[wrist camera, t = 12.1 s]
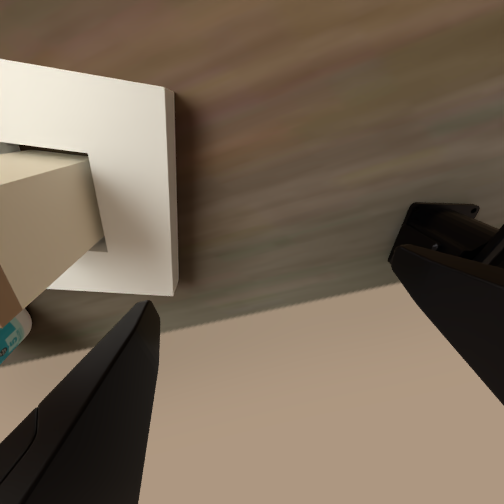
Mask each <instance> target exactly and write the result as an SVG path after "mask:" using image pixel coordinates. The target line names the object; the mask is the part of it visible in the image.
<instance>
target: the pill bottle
mask: <svg viewBox="0 0 504 504" xmlns="http://www.w3.org/2000/svg"><path fill="white" fill-rule="evenodd" d="M31 327H32V320H31V317H30V315H29V313H28V312H27V310H26V309H25V308H24V309H23V310H22V311H21V312H20V313H19V314H18V315H16V316H15V317H14V318H13V319H12V320H11V321H10V322H9V323H8V324H6V325H5V326H4V327H3V328H0V364H1V363H2V362H3V361H4V360H5V359H6V358H7V356H8V355H9V354H10V353H11V352H12V351H13V350H14V349H15V348H16V347H17V346H18V345H19V344H20V343H21V342H22V340H23V339H24V338H25V337H26V336H27V335H28V334H29V332H30V330H31Z"/></svg>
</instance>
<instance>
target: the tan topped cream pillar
mask: <svg viewBox="0 0 504 504" xmlns="http://www.w3.org/2000/svg"><path fill="white" fill-rule="evenodd" d="M103 237H104V231H103V226H102V221H101V216H100V211H99V206H98V201H97V196H96V191H95V187H94V182H93V177H92V172H91V167H90V162H89V157H88V156H81V155H73V154H65V153H56V152H48V151H40V150H25V151H18V152H12V153H5V154H0V328H3V327H4V326H5V325H6V324H8V323H9V322H10V321H11V320H12V319H13V318H14V317H15V316H16V315H18V314H19V313H20V312H21V311H22V310H23V309H24V308H25V307H26V306H27V305H29V304H30V303H31V302H32V301H33V300H34V299H35V298H36V297H37V296H39V295H40V294H41V293H42V292H43V291H44V290H45V289H46V288H47V287H49V286H50V285H51V284H52V283H53V282H54V281H55V280H56V279H57V278H59V277H60V276H61V275H62V274H63V273H64V272H65V271H66V270H67V269H68V268H70V267H71V266H72V265H73V264H74V263H75V262H76V261H77V260H78V259H80V258H81V257H82V256H83V255H84V254H85V253H86V252H87V251H88V250H90V249H91V248H92V247H93V246H94V245H95V244H96V243H97V242H98V241H100V240H101V239H102V238H103Z"/></svg>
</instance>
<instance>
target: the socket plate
mask: <svg viewBox="0 0 504 504" xmlns="http://www.w3.org/2000/svg"><path fill="white" fill-rule="evenodd" d="M19 144H21V145H28V146H36V147H44V148H51V149H59V150H66V151H74V152H82V153H88V157H89V162H90V167H91V172H92V177H93V182H94V187H95V191H96V196H97V201H98V206H99V211H100V216H101V221H102V226H103V231H104V236H105V237H103V238H102V239H101V240H100V241H98V242H97V243H96V244H95V245H94V246H93V247H92V248H91V249H90V250H88V251H87V252H86V253H85V254H84V255H83V256H82V257H81V258H80V259H78V260H77V261H76V262H75V263H74V264H73V265H72V266H71V267H70V268H68V269H67V270H66V271H65V272H64V273H63V274H62V275H61V276H60V277H59V278H57V279H56V280H55V281H54V282H53V283H52V284H51V285H50V286H49V287H47V288H46V289H60V290H77V291H94V292H110V293H127V294H144V295H160V296H174V293H175V290H176V287H177V284H178V281H179V263H178V224H177V184H176V145H175V105H174V91H172V90H169V89H167V88H165V87H160V86H154V85H148V84H142V83H137V82H131V81H125V80H119V79H113V78H108V77H102V76H96V75H90V74H84V73H79V72H73V71H67V70H61V69H55V68H50V67H44V66H38V65H32V64H26V63H21V62H15V61H9V60H3V59H0V154H5V153H12V152H18V151H21V150H20V147H19Z"/></svg>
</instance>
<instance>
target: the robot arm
mask: <svg viewBox="0 0 504 504" xmlns="http://www.w3.org/2000/svg"><path fill="white" fill-rule="evenodd" d="M416 207H417V209H416V210H415V208H416ZM478 211H479V206H477V205H474V204H453V203H422V202H416V203H413V204H412V205H411V206H410V207H409V210H408V212H407V215H406V217H405V219H404V222H403V224H402V227H401V229H400V231H399V234H398V236H397V239H396V241H395V243H394V246H393V248H392V251H391V253H390V255H389V258H388V262H389V263H390V264H391V267H392V270H393V272H394V273H395V274H396V276H397V277H398V279H399V280H400V281H401V283H402V284H403V286H404V287H405V288H406V290H407V291H408V293H409V294H410V296H411V297H412V298H413V300H414V301H415V302H416V304H417V305H418V306H419V307H420V309H421V310H422V311H423V312H424V313H425V314H426V316H427V317H428V318H429V319H430V320H431V321H432V323H433V324H434V325H435V326H436V327H437V328H438V330H439V331H440V332H441V333H442V334H443V335H444V337H445V338H446V339H447V340H448V341H449V342H450V344H451V345H452V346H453V347H454V348H455V349H456V351H457V352H458V353H459V354H460V355H461V356H462V357H463V359H464V360H465V361H466V362H467V363H468V364H469V366H470V367H471V368H472V369H473V370H474V371H475V373H476V374H477V375H478V376H479V377H480V378H481V380H482V381H483V382H484V383H485V384H486V385H487V387H489V389H490V390H491V391H492V392H493V394H494V395H495V396H496V397H497V398H498V399H499V401H500V402H501V403H502V404H503V405H504V225H503V226H502V227H501V228H500V229H497V228H495V227H492V226H490V225H488V224H485V223H483V222H480V221H478V220H476V219H474V218H475V216H476V215H477V213H478ZM159 344H160V317H159V315H158V313H157V311H156V309H155V307H154V305H153V303H152V302H151V301H150V300H146V301H142V302H138V303H136V304H135V305H134V306H133V307H132V308H131V309H130V310H129V311H128V312H127V314H126V315H125V316H124V317H123V318H122V319H121V320H120V321H119V322H118V323H117V324H116V325H115V326H114V327H113V328H112V329H111V330H110V331H109V332H108V333H107V334H106V335H105V336H104V337H103V338H102V339H101V340H100V341H99V343H98V344H97V345H96V346H95V347H94V348H93V349H92V350H91V351H90V352H89V353H88V354H87V355H86V356H85V357H84V358H83V359H82V360H81V361H80V362H79V363H78V364H77V365H76V366H75V367H74V368H73V370H72V371H71V372H70V373H69V374H68V375H67V376H66V377H65V378H64V379H63V380H62V381H61V382H60V383H59V384H58V385H57V386H56V387H55V388H54V389H53V390H52V391H51V392H50V393H49V394H48V395H47V396H46V397H45V398H44V400H42V402H41V403H40V404H39V405H38V407H37V408H35V409H34V410H33V411H32V412H31V413H30V414H29V415H28V416H27V417H26V418H25V419H24V420H23V421H22V422H21V423H20V424H19V425H18V426H17V427H16V428H15V429H14V430H13V431H12V432H11V433H10V434H9V435H8V436H7V437H6V438H5V439H4V440H3V441H2V442H1V443H0V504H138V500H139V493H140V487H141V481H142V474H143V467H144V461H145V453H146V447H147V441H148V433H149V427H150V421H151V413H152V407H153V401H154V394H155V387H156V381H157V374H158V366H159V347H160V345H159Z"/></svg>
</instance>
